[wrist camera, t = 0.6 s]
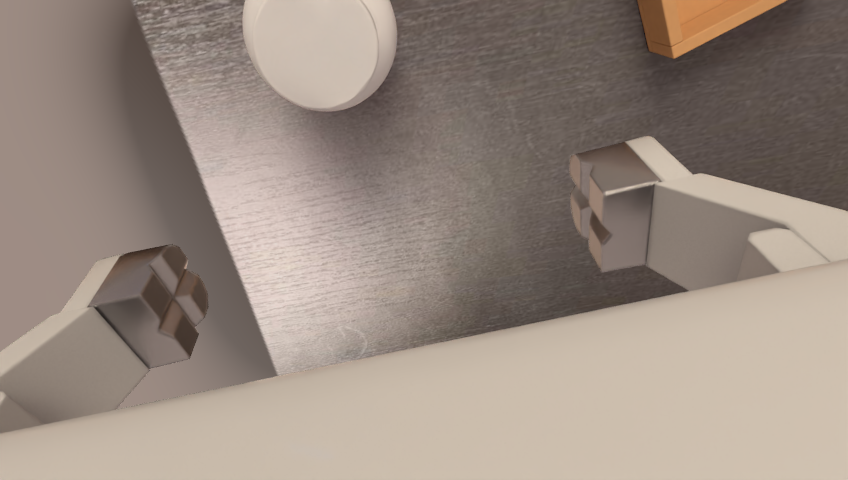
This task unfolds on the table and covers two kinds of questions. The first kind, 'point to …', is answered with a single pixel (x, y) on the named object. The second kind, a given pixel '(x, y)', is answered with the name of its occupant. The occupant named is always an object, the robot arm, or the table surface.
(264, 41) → the supplement bottle
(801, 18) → the table surface
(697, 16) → the open wooden box
